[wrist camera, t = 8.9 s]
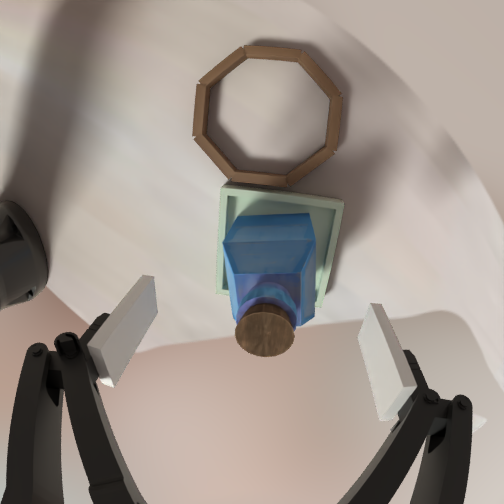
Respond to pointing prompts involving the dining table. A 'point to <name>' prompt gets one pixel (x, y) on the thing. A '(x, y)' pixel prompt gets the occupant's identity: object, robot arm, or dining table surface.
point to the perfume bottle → (270, 279)
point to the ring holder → (270, 54)
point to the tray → (281, 202)
